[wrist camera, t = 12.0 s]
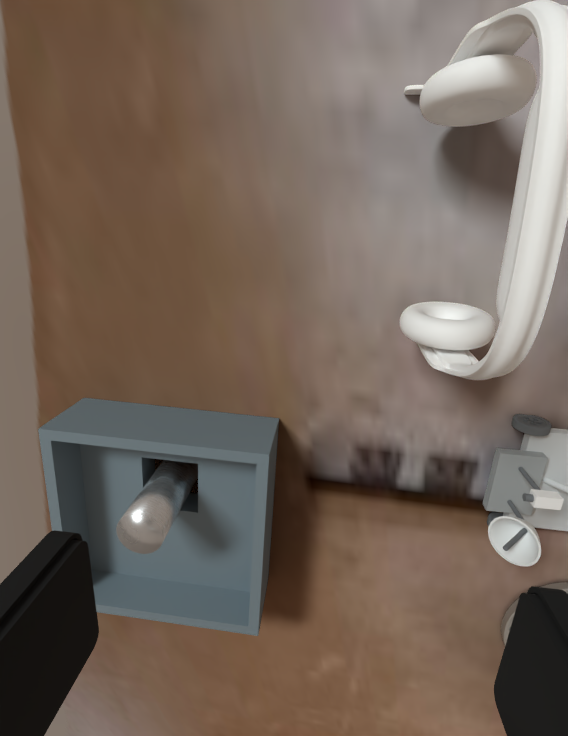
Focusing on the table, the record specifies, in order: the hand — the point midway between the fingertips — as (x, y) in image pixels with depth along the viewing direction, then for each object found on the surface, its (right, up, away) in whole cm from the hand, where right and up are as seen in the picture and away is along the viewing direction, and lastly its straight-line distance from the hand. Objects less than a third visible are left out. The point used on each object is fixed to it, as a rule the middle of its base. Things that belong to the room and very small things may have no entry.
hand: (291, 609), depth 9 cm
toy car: (+27, -5, +31) cm, 41 cm away
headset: (+12, +17, +25) cm, 33 cm away
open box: (-11, -8, +36) cm, 38 cm away
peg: (-11, -5, +35) cm, 37 cm away
